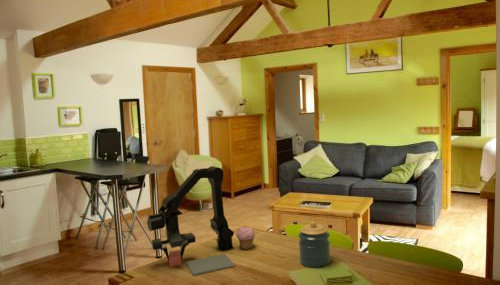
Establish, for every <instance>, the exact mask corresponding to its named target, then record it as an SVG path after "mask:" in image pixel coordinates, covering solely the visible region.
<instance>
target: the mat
mask: <svg viewBox="0 0 500 285" xmlns="http://www.w3.org/2000/svg"><path fill="white" fill-rule="evenodd" d="M185 265H186V266H187V268H188V269H189V271H190V273H191V275H192V276H193V277H195V276H200V275H204V274H208V273H213V272H218V271H223V270H226V269H231V268H235V267H236V264H235V263H234V262H233V261H232V260H231V259H230V258H229V256H227V253H226V254H225V253H221V254H216V255H213V256H207V257H203V258H198V259H193V260H188V261H185Z"/></svg>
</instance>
